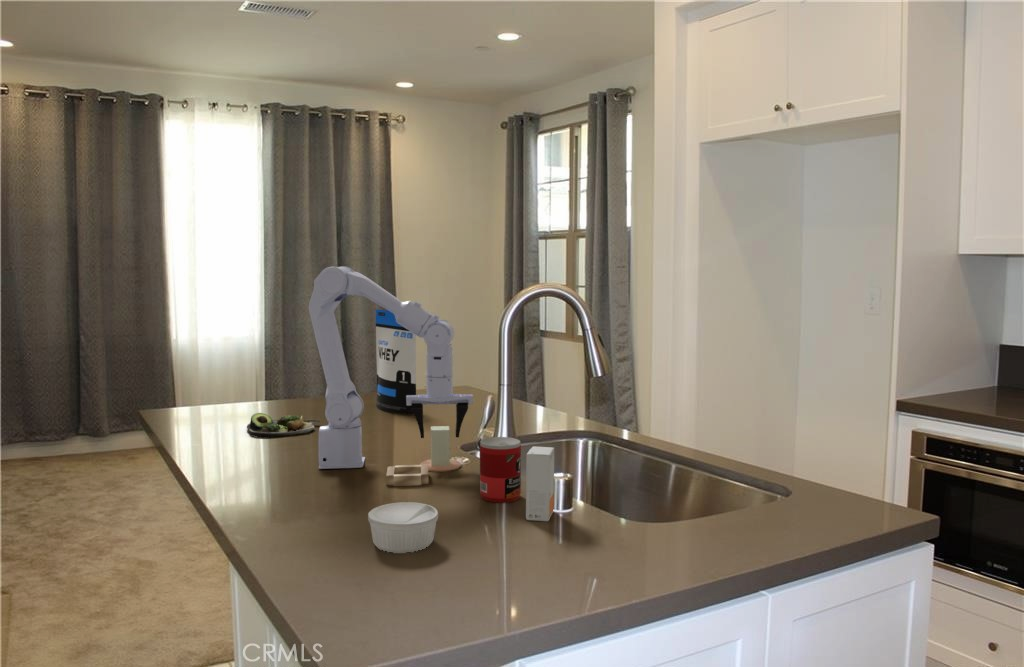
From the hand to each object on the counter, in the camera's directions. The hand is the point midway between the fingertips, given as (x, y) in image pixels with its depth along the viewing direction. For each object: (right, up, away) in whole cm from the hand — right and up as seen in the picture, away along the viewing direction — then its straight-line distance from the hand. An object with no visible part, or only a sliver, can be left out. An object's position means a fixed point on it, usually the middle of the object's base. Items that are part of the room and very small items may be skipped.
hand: (439, 436), depth 175 cm
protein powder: (-20, -1, +68) cm, 70 cm away
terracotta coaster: (0, -7, +1) cm, 7 cm away
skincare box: (+21, -10, -33) cm, 40 cm away
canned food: (+14, -9, -22) cm, 27 cm away
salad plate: (-47, -4, +38) cm, 60 cm away
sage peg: (0, -6, +1) cm, 6 cm away
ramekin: (-2, -12, -47) cm, 48 cm away
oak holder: (-6, -8, -10) cm, 14 cm away
